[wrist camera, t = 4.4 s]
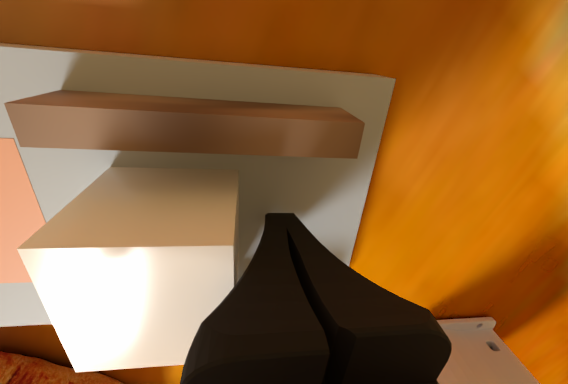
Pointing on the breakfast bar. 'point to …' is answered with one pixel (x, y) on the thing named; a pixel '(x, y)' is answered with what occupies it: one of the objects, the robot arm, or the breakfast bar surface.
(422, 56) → the breakfast bar surface
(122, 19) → the breakfast bar surface
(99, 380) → the croissant
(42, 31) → the breakfast bar surface
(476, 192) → the breakfast bar surface
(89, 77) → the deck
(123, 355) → the cube
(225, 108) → the parallel rails
